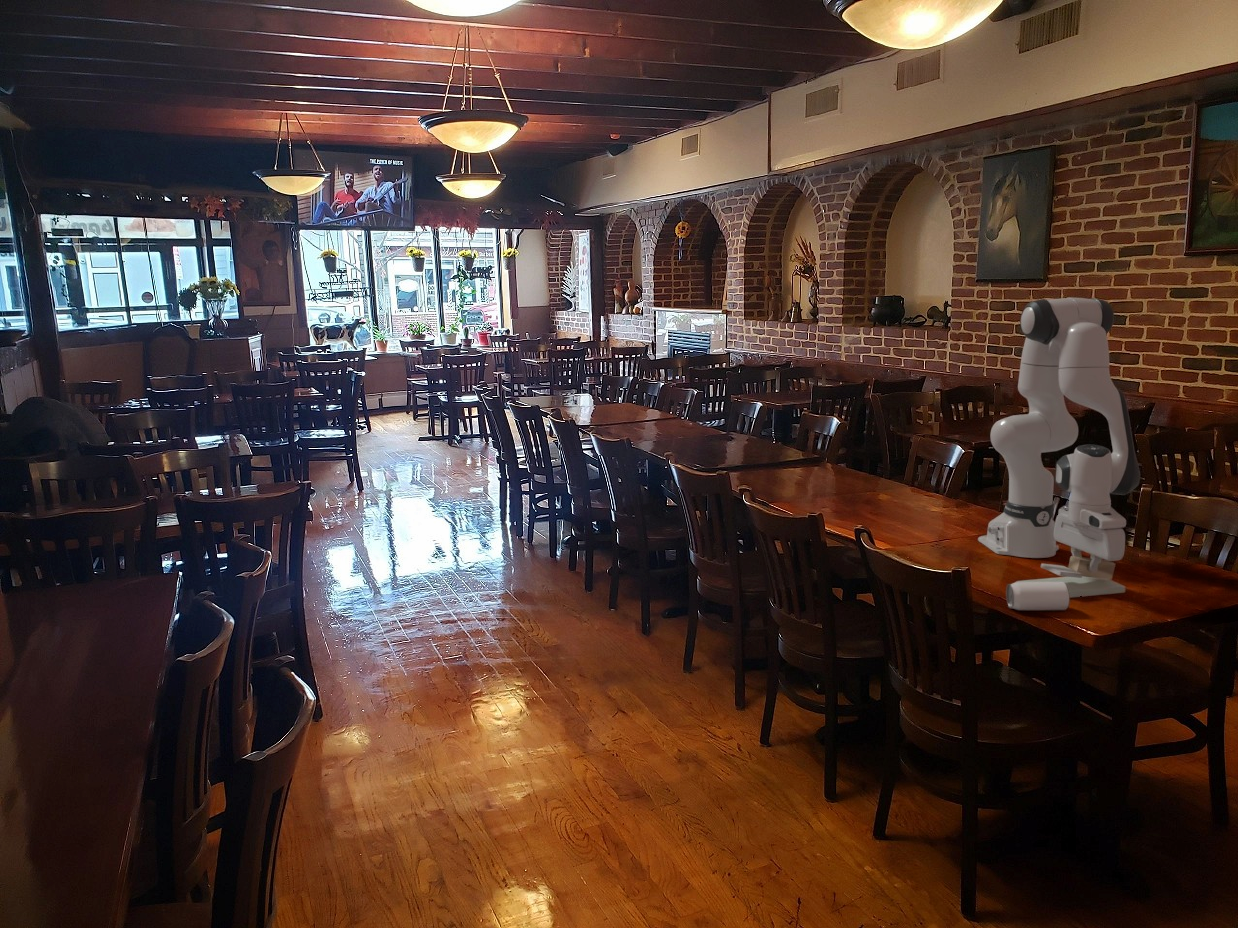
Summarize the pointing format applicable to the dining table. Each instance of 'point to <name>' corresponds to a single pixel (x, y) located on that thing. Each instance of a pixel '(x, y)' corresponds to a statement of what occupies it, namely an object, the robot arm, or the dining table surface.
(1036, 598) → the can
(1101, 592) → the rest board
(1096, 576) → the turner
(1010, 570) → the dining table surface
